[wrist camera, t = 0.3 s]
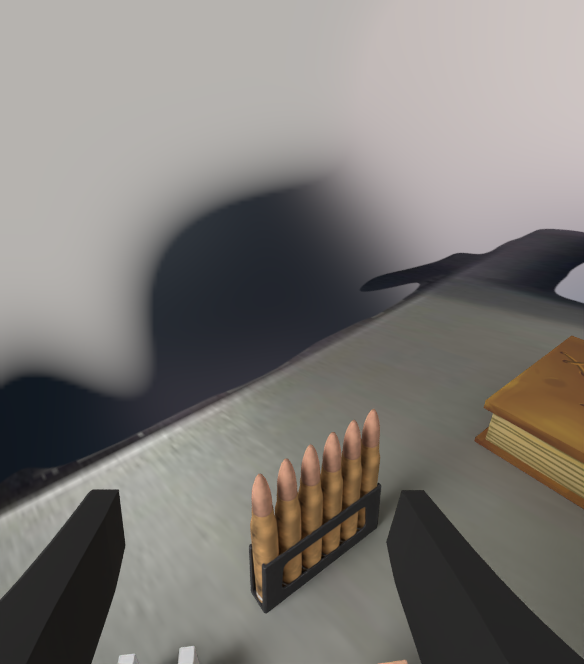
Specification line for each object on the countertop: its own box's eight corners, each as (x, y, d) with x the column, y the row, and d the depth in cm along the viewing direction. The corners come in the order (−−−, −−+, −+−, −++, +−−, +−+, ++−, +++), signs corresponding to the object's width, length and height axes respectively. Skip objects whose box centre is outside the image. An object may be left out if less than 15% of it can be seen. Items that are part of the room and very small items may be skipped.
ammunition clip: (361, 510, 35) (373, 396, 29) (377, 526, 33) (394, 411, 27) (250, 591, 29) (236, 472, 23) (264, 614, 28) (253, 494, 22)
